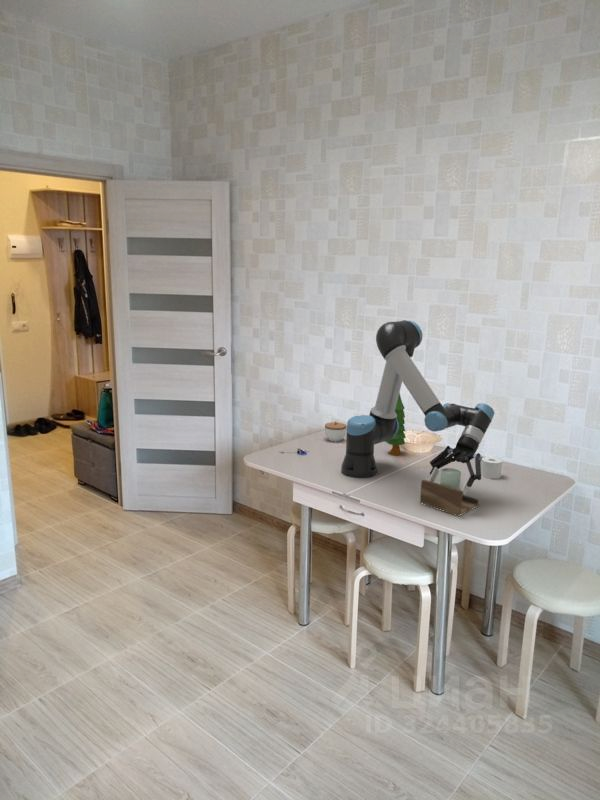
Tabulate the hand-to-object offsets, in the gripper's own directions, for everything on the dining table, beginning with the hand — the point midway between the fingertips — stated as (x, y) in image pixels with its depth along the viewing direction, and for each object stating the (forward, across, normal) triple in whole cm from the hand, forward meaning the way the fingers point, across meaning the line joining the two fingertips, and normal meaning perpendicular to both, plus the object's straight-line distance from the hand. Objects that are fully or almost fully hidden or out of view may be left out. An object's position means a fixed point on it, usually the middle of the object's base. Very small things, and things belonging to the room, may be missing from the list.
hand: (445, 488), depth 222 cm
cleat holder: (+3, 0, -7) cm, 8 cm away
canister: (+2, 0, -6) cm, 7 cm away
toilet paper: (-27, +7, -38) cm, 47 cm away
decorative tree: (-24, +52, -34) cm, 66 cm away
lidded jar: (-20, +85, -31) cm, 92 cm away
